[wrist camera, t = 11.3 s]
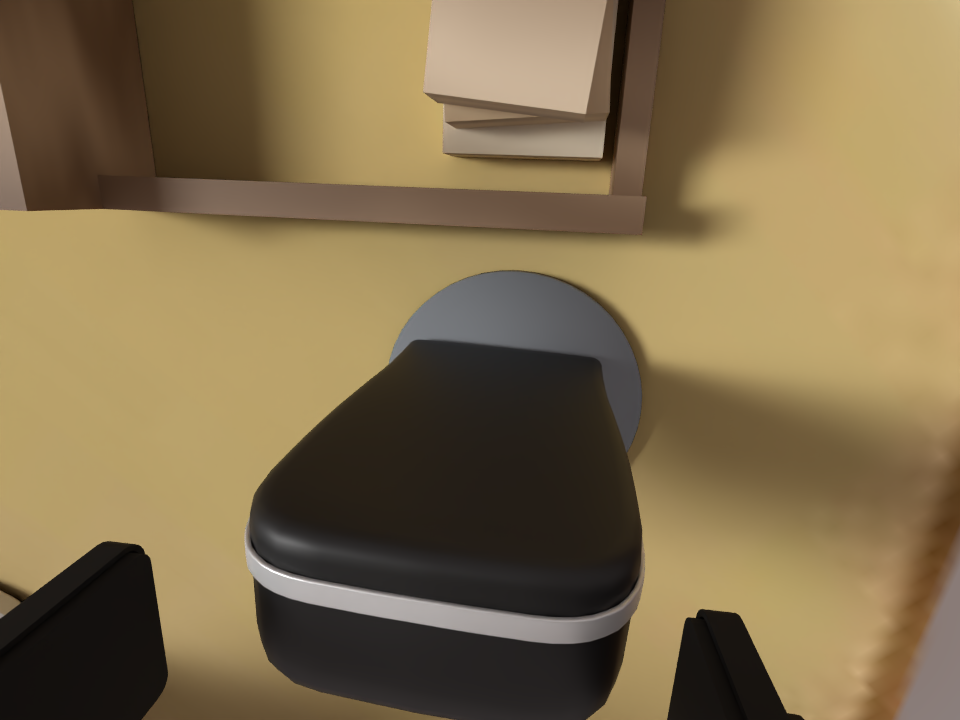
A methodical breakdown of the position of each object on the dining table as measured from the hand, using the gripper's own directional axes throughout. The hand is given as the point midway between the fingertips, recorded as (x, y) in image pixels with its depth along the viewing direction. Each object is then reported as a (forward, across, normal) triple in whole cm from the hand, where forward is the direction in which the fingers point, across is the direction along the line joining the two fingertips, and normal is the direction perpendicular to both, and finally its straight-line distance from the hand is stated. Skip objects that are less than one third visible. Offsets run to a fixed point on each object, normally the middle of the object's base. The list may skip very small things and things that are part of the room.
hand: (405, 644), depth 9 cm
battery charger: (+11, -1, -1) cm, 11 cm away
